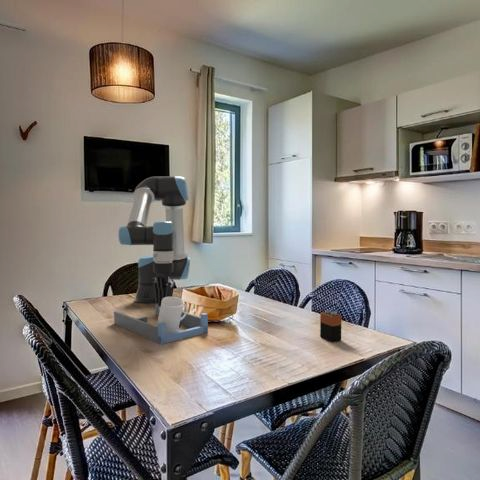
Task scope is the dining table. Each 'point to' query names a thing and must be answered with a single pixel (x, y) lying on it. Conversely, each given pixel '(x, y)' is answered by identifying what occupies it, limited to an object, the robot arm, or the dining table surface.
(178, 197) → the robot arm
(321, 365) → the dining table surface
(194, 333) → the blue bezel
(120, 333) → the dining table surface
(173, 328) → the mug
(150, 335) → the grey rectangular frame
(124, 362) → the dining table surface
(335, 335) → the battery
